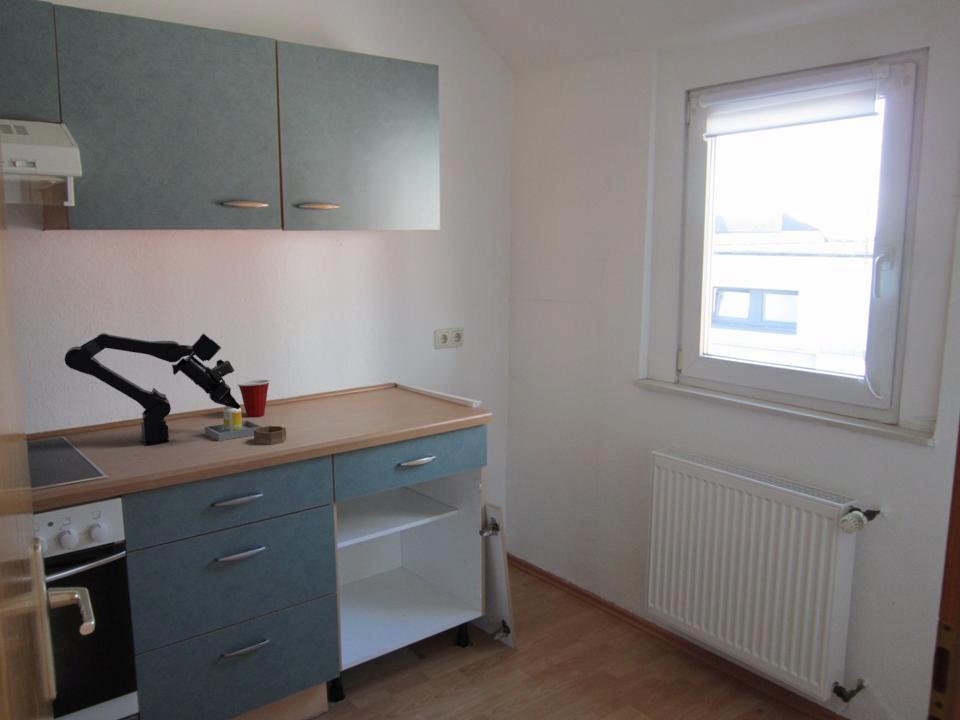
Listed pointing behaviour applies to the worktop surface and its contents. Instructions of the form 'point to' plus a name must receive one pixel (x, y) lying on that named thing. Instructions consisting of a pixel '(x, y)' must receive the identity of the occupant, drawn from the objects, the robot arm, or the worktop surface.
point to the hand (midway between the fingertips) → (237, 405)
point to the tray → (219, 433)
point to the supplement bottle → (232, 419)
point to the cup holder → (270, 435)
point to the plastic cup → (254, 396)
